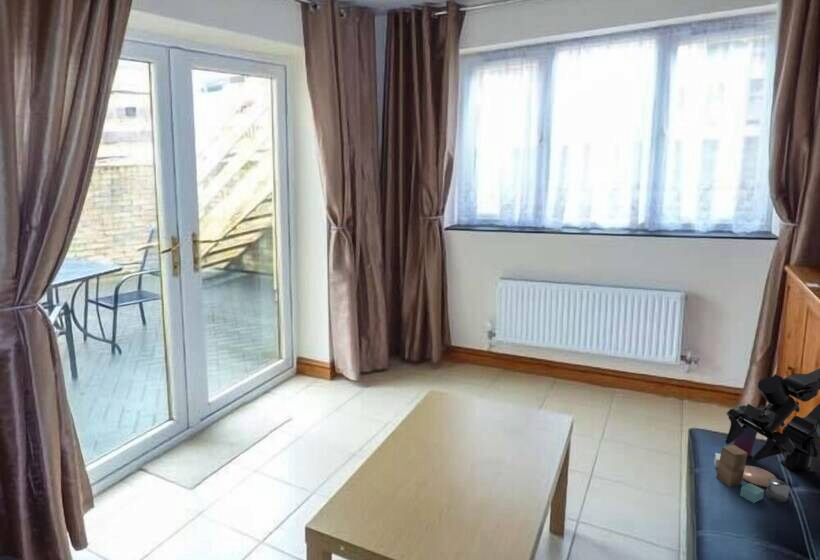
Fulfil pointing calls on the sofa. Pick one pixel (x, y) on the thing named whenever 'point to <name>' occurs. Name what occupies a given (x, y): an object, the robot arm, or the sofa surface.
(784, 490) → the metal bowl
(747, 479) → the coaster
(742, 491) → the teal block
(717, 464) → the grey block
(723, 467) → the walnut block
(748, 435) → the cup
